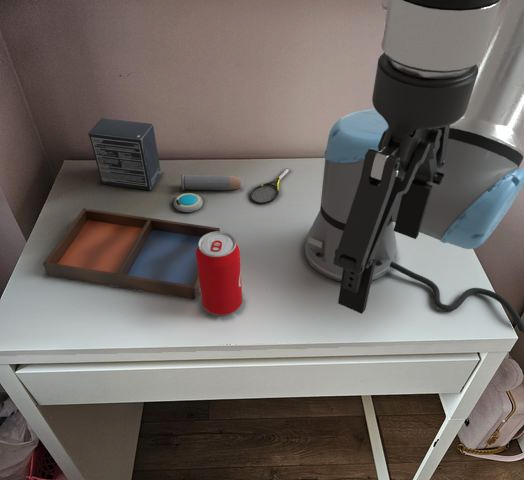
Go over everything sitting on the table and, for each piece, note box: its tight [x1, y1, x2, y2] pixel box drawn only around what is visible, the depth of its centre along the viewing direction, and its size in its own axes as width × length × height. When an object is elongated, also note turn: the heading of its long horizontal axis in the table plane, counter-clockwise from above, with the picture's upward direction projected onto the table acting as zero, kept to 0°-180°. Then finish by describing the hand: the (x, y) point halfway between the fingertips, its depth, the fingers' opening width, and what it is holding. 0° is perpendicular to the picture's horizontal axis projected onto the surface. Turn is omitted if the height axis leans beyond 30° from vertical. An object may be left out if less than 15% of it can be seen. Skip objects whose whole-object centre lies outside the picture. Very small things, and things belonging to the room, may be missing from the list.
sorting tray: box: [42, 207, 221, 301], centre depth 87 cm, size 25×15×2 cm, turn 77°
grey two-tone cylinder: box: [180, 173, 242, 191], centre depth 99 cm, size 11×3×3 cm
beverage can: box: [196, 231, 243, 316], centre depth 76 cm, size 6×6×12 cm
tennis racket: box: [249, 168, 290, 205], centre depth 101 cm, size 12×1×5 cm
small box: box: [87, 117, 162, 191], centre depth 98 cm, size 11×6×10 cm, turn 77°
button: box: [173, 192, 204, 213], centre depth 96 cm, size 5×5×1 cm
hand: (380, 267), depth 56 cm, fingers open, 13 cm apart
